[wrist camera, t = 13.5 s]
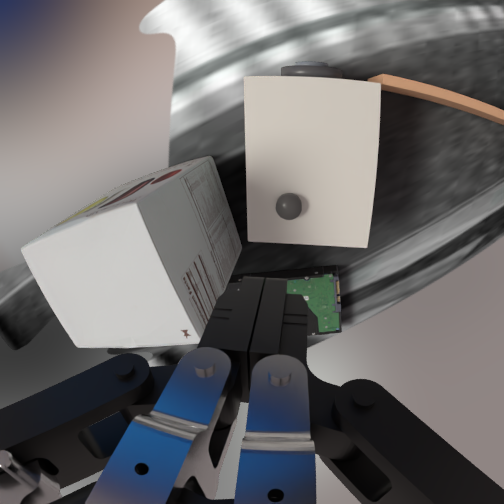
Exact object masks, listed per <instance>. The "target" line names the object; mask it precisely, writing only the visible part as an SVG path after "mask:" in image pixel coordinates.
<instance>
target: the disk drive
mask: <svg viewBox="0 0 504 504" xmlns="http://www.w3.org/2000/svg"><path fill="white" fill-rule="evenodd" d="M244 276H248V277H263V278H265V281H266V278H279V279H287V294H302V296H303V297H304V299H305V300H306V302H307V304H308V324H307V335H308V336H310V335H322V334H329V333H340V332H342V328H341V302H340V286H339V272H338V267H337V265H334V266H324V267H322V266H321V267H314V268H305V269H295V270H285V271H275V272H266V273H255V274H240V275H235V276H234V275H233V276H231V278H230V280H229V282H228V288H229V290H239V288H240V285H241V282H242V279H243V277H244Z"/></svg>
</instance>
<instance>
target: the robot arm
mask: <svg viewBox="0 0 504 504" xmlns="http://www.w3.org/2000/svg"><path fill="white" fill-rule="evenodd" d="M307 324H308V304H307V302H306V300H305V299H304V297H303V296H302V294H287V279H279V278H266V281H265V278H263V277H248V276H244V277H243V279H242V282H241V285H240V288H239V290H229V289H227V290H226V291H225V292H224V293H223V294H222V295H220V296H219V297H218V299H217V301H216V304H215V306H214V310H213V311H212V313H211V316H210V318H209V320H208V323H207V325H206V327H205V330H204V332H203V335H202V337H201V339H200V342H199V344H198V347H197V349H194V350H191V351H190V352H188V353H186V354H185V355H184V356H183V357H182V359H181V360H180V362H179V363H178V364H175V365H169V366H157V367H149V364H148V362H147V360H146V359H145V358H143V357H142V356H140V355H137V354H133V353H126V354H121V355H118V356H115V357H113V358H111V359H109V360H107V361H105V362H103V363H101V364H99V365H97V366H94V367H92V368H90V369H88V370H86V371H84V372H82V373H80V374H77V375H75V376H73V377H71V378H69V379H67V380H65V381H62V382H61V383H58V384H56V385H54V386H52V387H49V388H47V389H45V390H43V391H41V392H38V393H36V394H34V395H32V396H30V397H27V398H25V399H23V400H21V401H18V402H16V403H14V404H12V405H9V406H7V407H5V408H3V409H0V504H316V466H315V454H318V455H319V456H320V458H321V460H322V461H323V462H324V463H325V465H326V466H327V467H328V468H329V469H330V470H331V471H332V472H333V473H334V475H335V476H336V477H337V478H338V479H339V480H340V481H341V482H342V483H343V484H344V486H346V488H347V489H348V490H349V491H350V492H351V493H352V494H353V495H354V496H355V497H356V498H357V499H358V500H359V501H360V502H361V504H504V489H502V488H501V487H500V486H499V485H498V484H496V483H495V482H494V481H493V480H492V479H490V478H489V477H488V476H487V475H485V474H484V473H483V472H482V471H481V470H479V469H478V468H477V467H476V466H475V465H473V464H472V463H471V462H470V461H469V460H467V459H466V458H465V457H464V456H463V455H461V454H460V453H459V452H458V451H457V450H455V449H454V448H453V447H452V446H451V445H450V444H448V443H447V442H446V441H445V440H444V439H443V438H441V437H440V436H439V435H438V434H437V433H435V432H434V431H433V430H432V429H431V428H430V427H428V426H427V425H426V424H425V423H424V422H423V421H421V420H420V419H419V418H418V417H417V416H416V415H414V414H413V413H412V412H411V411H410V410H408V409H407V408H406V407H405V406H404V405H403V404H402V403H400V402H399V401H398V400H397V399H396V398H395V397H394V396H392V395H391V394H390V393H389V392H388V391H387V390H385V389H384V388H383V387H382V386H381V385H379V384H378V383H376V382H373V381H371V380H367V379H356V380H351V381H348V382H346V383H344V384H343V385H342V386H341V387H340V386H337V385H333V384H330V383H327V382H324V381H322V380H320V379H319V378H317V377H316V376H314V374H312V372H311V371H310V370H309V368H308V365H307V361H306V357H307ZM240 402H246V403H249V405H248V415H247V424H246V431H245V437H244V438H243V440H242V445H241V452H240V459H239V467H238V475H237V483H236V490H235V498H234V499H222V500H214V498H215V496H216V492H217V488H218V480H219V474H220V470H221V467H222V464H223V461H224V458H225V455H226V453H227V450H228V447H229V444H230V441H231V438H232V435H233V432H234V429H235V426H236V423H237V415H238V410H239V406H240ZM118 411H119V412H118ZM116 412H117V413H116ZM114 413H115V414H114ZM112 414H113V415H112ZM110 415H111V416H110ZM108 416H109V417H108ZM106 417H107V418H106ZM104 418H105V419H104ZM102 419H103V420H102ZM100 420H101V421H100ZM98 421H99V422H98ZM96 422H97V423H96ZM94 423H95V424H94ZM92 424H93V425H92ZM90 425H91V426H90ZM103 469H104V470H103ZM101 470H103V472H102V474H101V475H100V477H99V479H98V481H96V482H93V483H91V484H89V485H87V486H85V487H83V488H81V489H79V490H77V491H74V492H72V493H71V494H68V495H66V496H64V497H62V496H61V494H60V489H61V488H64V487H66V486H69V485H71V484H73V483H75V482H78V481H80V480H82V479H84V478H87V477H89V476H91V475H93V474H95V473H97V472H99V471H101Z"/></svg>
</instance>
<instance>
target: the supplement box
mask: <svg viewBox="0 0 504 504" xmlns="http://www.w3.org/2000/svg"><path fill="white" fill-rule="evenodd" d="M241 250H242V245H241V242H240V239H239V236H238V233H237V229H236V226H235V223H234V220H233V217H232V214H231V211H230V208H229V205H228V202H227V199H226V196H225V193H224V190H223V186H222V183H221V180H220V177H219V174H218V171H217V168H216V165H215V162H214V160H213V158H212V157H211V156H207V157H202V158H198V159H194V160H191V161H187V162H184V163H181V164H178V165H175V166H172V167H169V168H166V169H163V170H160V171H157V172H154V173H152V174H149V175H147V176H144V177H141V178H138V179H136V180H133V181H131V182H128V183H126V184H123V185H121V186H119V187H117V188H115V189H113V190H111V191H109V192H108V193H107V194H105V195H103V196H102V197H100V198H98V199H96V200H95V201H93V202H92V203H90V204H88V205H86V206H85V207H83V208H82V209H80V210H79V211H77V212H75V213H74V214H72V215H70V216H69V217H67V218H66V219H65V220H63V221H61V222H60V223H58V224H57V225H55V226H54V227H52V228H51V229H49V230H48V231H46V232H45V233H43V234H42V235H40V236H39V237H37V238H36V239H34V240H33V241H31V242H29V243H27V244H26V245H25V246H23V247H22V248H21V252H22V254H23V256H24V258H25V260H26V262H27V264H28V266H29V268H30V270H31V272H32V274H33V275H34V277H35V279H36V281H37V283H38V285H39V287H40V288H41V290H42V292H43V294H44V296H45V297H46V299H47V301H48V303H49V304H50V306H51V308H52V309H53V311H54V313H55V314H56V316H57V318H58V319H59V321H60V322H61V324H62V325H63V327H64V329H65V330H66V332H67V333H68V335H69V336H70V338H71V339H72V341H73V342H74V344H75V345H76V346H77V347H79V348H134V347H152V346H169V345H183V344H196V343H199V342H200V339H201V337H202V335H203V332H204V330H205V327H206V325H207V323H208V320H209V318H210V316H211V313H212V311H213V310H214V306H215V304H216V301H217V299H218V297H219V296H220V295H222V294H223V293H224V291H225V289H226V286H227V284H228V281H229V279H230V277H231V274H232V272H233V269H234V267H235V264H236V262H237V260H238V257H239V255H240V252H241Z"/></svg>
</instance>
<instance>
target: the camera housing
mask: <svg viewBox="0 0 504 504" xmlns="http://www.w3.org/2000/svg"><path fill="white" fill-rule="evenodd" d="M380 102H381V83H374V82H366V81H358V80H348V79H342V70H340V69H337V68H332V67H328V64H327V63H322V62H312V61H302V62H296V63H295V66H285V67H282V68H281V76H251V77H244V104H245V147H246V187H247V226H248V241H250V242H269V243H288V244H306V245H324V246H342V247H359V248H367V245H368V238H369V231H370V224H371V217H372V209H373V200H374V192H375V182H376V171H377V160H378V146H379V129H380Z"/></svg>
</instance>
